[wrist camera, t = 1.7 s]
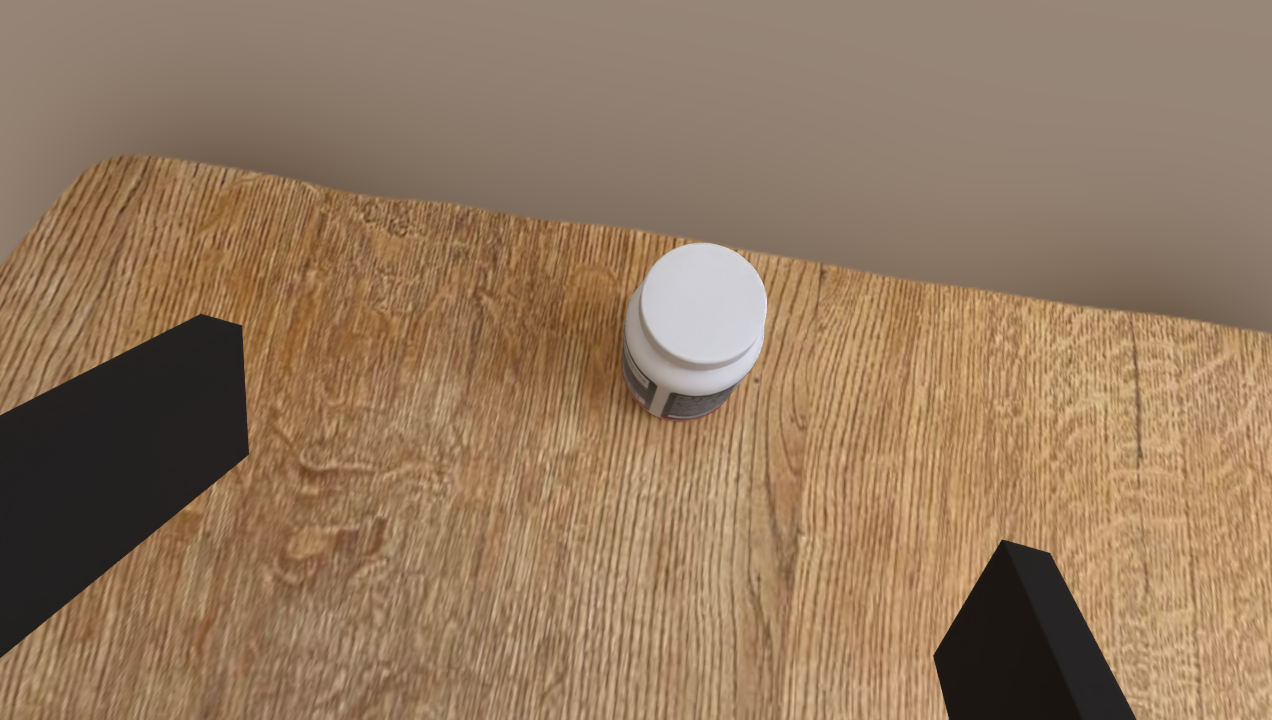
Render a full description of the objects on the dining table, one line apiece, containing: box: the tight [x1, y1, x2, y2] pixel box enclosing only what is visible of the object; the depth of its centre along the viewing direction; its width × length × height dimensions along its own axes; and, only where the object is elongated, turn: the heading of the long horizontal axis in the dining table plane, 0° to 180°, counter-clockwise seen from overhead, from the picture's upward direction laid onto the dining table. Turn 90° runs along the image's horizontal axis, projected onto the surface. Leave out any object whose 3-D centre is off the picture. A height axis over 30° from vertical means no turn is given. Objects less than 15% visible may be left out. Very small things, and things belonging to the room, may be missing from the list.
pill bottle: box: [622, 243, 767, 422], centre depth 30 cm, size 6×6×10 cm
